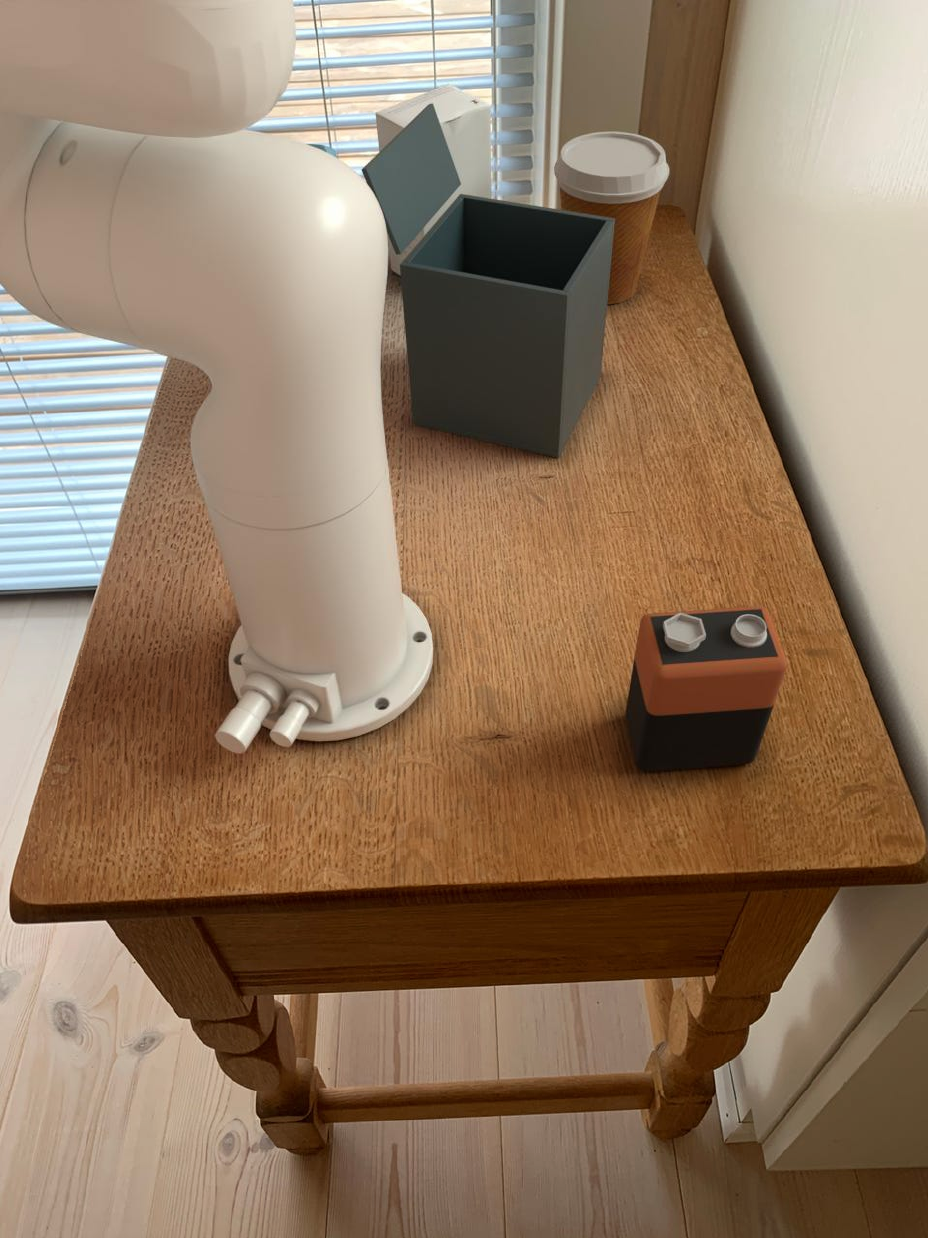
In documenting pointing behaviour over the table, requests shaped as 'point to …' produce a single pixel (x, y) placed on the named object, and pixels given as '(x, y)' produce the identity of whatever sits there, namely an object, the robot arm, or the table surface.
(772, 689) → the battery
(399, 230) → the flap
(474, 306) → the carton
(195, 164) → the robot arm
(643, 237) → the disposable coffee cup
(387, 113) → the cosmetic box
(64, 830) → the table surface
